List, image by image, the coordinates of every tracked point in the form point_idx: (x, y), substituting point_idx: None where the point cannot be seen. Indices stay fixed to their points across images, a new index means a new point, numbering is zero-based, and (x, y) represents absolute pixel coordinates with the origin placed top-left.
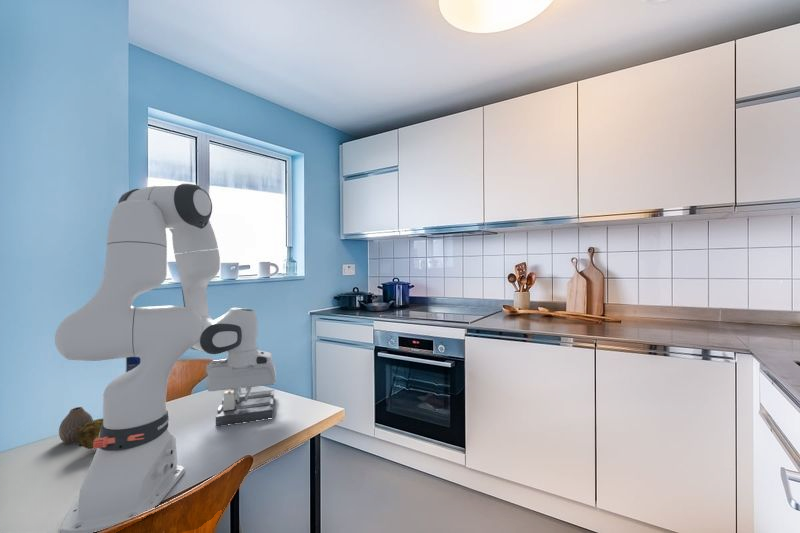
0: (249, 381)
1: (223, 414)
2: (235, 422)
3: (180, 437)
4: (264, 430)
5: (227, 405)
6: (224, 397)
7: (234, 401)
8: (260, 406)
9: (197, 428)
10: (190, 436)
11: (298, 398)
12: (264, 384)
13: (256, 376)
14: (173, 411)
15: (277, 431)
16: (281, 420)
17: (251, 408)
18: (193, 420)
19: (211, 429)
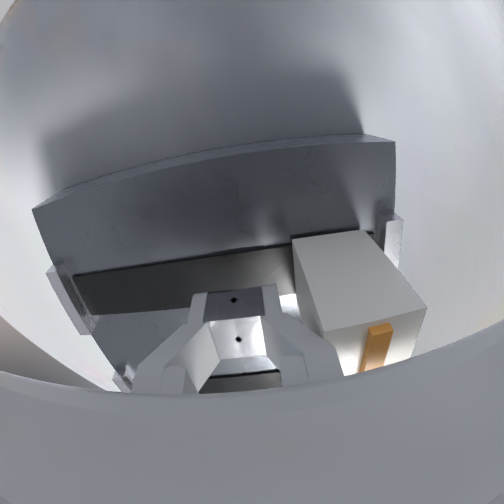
0: (103, 464)
1: (352, 171)
2: (255, 144)
3: (471, 82)
4: (68, 59)
5: (350, 251)
6: (405, 289)
7: (303, 292)
8: (117, 269)
9: (438, 148)
10: (443, 70)
11: (71, 366)
12: (3, 380)
13: (21, 488)
14: (483, 319)
15: (21, 61)
16: (26, 172)
17: (163, 245)
18: (455, 243)
19: (377, 109)
